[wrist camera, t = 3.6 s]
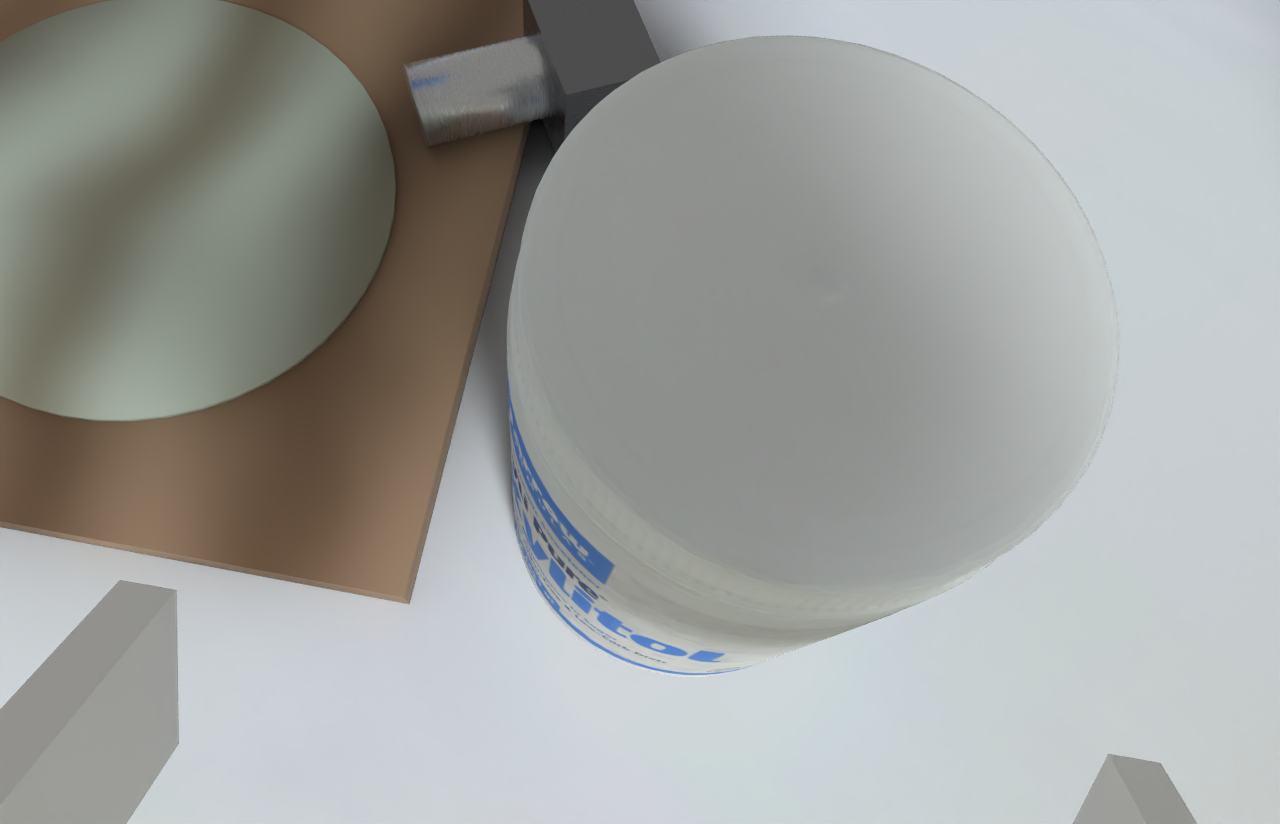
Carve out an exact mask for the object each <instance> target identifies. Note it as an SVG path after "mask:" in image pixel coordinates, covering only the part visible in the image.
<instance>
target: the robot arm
mask: <svg viewBox="0 0 1280 824" xmlns="http://www.w3.org/2000/svg"><path fill="white" fill-rule="evenodd" d="M178 744H179V727H178V657H177V590H173V589H167V588H162V587H156V586H150V585H145V584H139V583H133V582H128V581H122V580H120V581H119V582H118V583H117V584H116V585H115V586H114V587H113V588H112V589H111V590H110V591H109V593H108V594H107V595H106V596H105V597H104V598H103V599H102V600H101V601H100V602H99V603H98V604H97V605H96V607H95V608H94V609H93V610H92V611H91V612H90V613H89V614H88V615H87V616H86V617H85V618H84V620H83V621H82V622H81V623H80V624H79V625H78V626H77V627H76V628H75V629H74V630H73V631H72V632H71V634H70V635H69V636H68V637H67V638H66V639H65V640H64V641H63V642H62V643H61V644H60V645H59V647H58V648H57V649H56V650H55V651H54V652H53V653H52V654H51V655H50V656H49V657H48V658H47V659H46V661H45V662H44V663H43V664H42V665H41V666H40V667H39V668H38V669H37V670H36V671H35V672H34V674H33V675H32V676H31V677H30V678H29V679H28V680H27V681H26V682H25V683H24V684H23V685H22V686H21V688H20V689H19V690H18V691H17V692H16V693H15V694H14V695H13V696H12V697H11V698H10V699H9V701H8V702H7V703H6V704H5V705H4V706H3V707H2V708H1V709H0V824H126V823H127V822H128V820H129V819H130V817H131V816H132V814H133V813H134V811H135V809H136V808H137V806H138V805H139V803H140V802H141V800H142V799H143V797H144V796H145V794H146V793H147V791H148V790H149V788H150V787H151V785H152V783H153V782H154V780H155V779H156V777H157V776H158V774H159V773H160V771H161V770H162V768H163V767H164V765H165V764H166V762H167V761H168V759H169V757H170V756H171V754H172V753H173V751H174V750H175V748H176V747H177V745H178ZM1073 824H1197V822H1196V821H1195V819H1194V818H1193V816H1192V814H1191V813H1190V811H1189V809H1188V808H1187V806H1186V804H1185V803H1184V801H1183V799H1182V798H1181V796H1180V794H1179V793H1178V791H1177V789H1176V788H1175V786H1174V784H1173V783H1172V781H1171V779H1170V778H1169V776H1168V774H1167V773H1166V771H1165V769H1164V768H1163V766H1162V765H1161V763H1158V762H1152V761H1146V760H1140V759H1135V758H1129V757H1123V756H1118V755H1112V754H1108V756H1107V758H1106V760H1105V762H1104V764H1103V765H1102V767H1101V769H1100V771H1099V773H1098V775H1097V777H1096V779H1095V781H1094V783H1093V785H1092V787H1091V789H1090V791H1089V793H1088V795H1087V797H1086V799H1085V801H1084V803H1083V805H1082V807H1081V809H1080V811H1079V813H1078V815H1077V817H1076V819H1075V821H1074V823H1073Z"/></svg>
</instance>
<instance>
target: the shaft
mask: <svg viewBox="0 0 1280 824" xmlns="http://www.w3.org/2000/svg"><path fill="white" fill-rule="evenodd" d="M523 27H524V37H520V38H516V39H511V40H507V41H503V42H498V43H494V44H490V45H485V46H481V47H476V48H472V49H468V50H463V51H459V52H455V53H450V54H446V55H441V56H437V57H433V58H428V59H424V60H420V61H415V62H411V63H406V64H403V70H404V75H405V80H406V84H407V88H408V92H409V96H410V99H411V103H412V106H413V110H414V113H415V117H416V120H417V123H418V126H419V129H420V132H421V135H422V137H423V140H424V142H425V145H426V146H427V147H428V146H432V145H436V144H440V143H444V142H448V141H452V140H456V139H460V138H464V137H469V136H473V135H477V134H481V133H485V132H489V131H493V130H497V129H501V128H505V127H509V126H513V125H517V124H521V123H525V122H529V121H533V120H537V119H541V118H542V121H543V123H544V126H545V128H546V131H547V134H548V136H549V139H550V141H551V144H552V147H553V149H554V152H555V154H556V152H557V151H558V149H559V148H560V146H561V145H562V143H563V142H564V141H565V139H566V138H567V137H568V135H569V134H570V133H571V131H572V130H573V129H574V128H575V127H576V125H577V124H578V123H579V122H580V121H581V120H582V119H583V118H584V117H585V116H586V115H587V114H588V113H589V112H590V111H591V110H592V109H593V108H594V107H595V106H596V105H597V104H598V103H599V102H600V101H601V100H603V99H604V98H605V97H606V96H608V95H609V94H610V93H611V92H613V91H614V90H615V89H617V88H618V87H620V86H621V85H623V84H624V83H626V82H627V81H629V80H630V79H632V78H633V77H635V76H636V75H638V74H639V73H641V72H643V71H645V70H647V69H649V68H651V67H653V66H655V65H657V64H659V63H660V61H659V58H658V56H657V54H656V51H655V49H654V47H653V45H652V42H651V40H650V38H649V35H648V33H647V31H646V29H645V26H644V24H643V22H642V19H641V17H640V15H639V13H638V10H637V8H636V6H635V4H634V1H633V0H523Z"/></svg>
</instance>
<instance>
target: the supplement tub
mask: <svg viewBox="0 0 1280 824" xmlns="http://www.w3.org/2000/svg"><path fill="white" fill-rule="evenodd" d="M1118 360H1119V331H1118V319H1117V311H1116V305H1115V300H1114V295H1113V289H1112V285H1111V281H1110V277H1109V273H1108V270H1107V267H1106V263H1105V260H1104V257H1103V254H1102V252H1101V249H1100V247H1099V244H1098V242H1097V239H1096V237H1095V234H1094V232H1093V229H1092V227H1091V225H1090V223H1089V221H1088V219H1087V217H1086V216H1085V214H1084V212H1083V210H1082V208H1081V206H1080V205H1079V203H1078V201H1077V199H1076V197H1075V196H1074V194H1073V193H1072V191H1071V190H1070V188H1069V187H1068V185H1067V184H1066V182H1065V181H1064V179H1063V178H1062V177H1061V175H1060V174H1059V173H1058V172H1057V170H1056V169H1055V168H1054V167H1053V165H1052V164H1051V163H1050V162H1049V160H1048V159H1047V158H1046V157H1045V156H1044V155H1043V153H1042V152H1041V151H1040V150H1039V149H1038V148H1037V147H1036V145H1035V144H1034V143H1033V142H1032V141H1031V140H1030V139H1029V138H1027V137H1026V136H1025V135H1024V134H1023V133H1022V132H1021V131H1020V130H1019V129H1018V128H1017V127H1016V126H1015V125H1014V124H1012V123H1011V122H1010V121H1009V120H1008V119H1007V118H1006V117H1005V116H1003V115H1002V114H1001V113H999V112H998V111H997V110H995V109H994V108H993V107H991V106H990V105H989V104H988V103H986V102H985V101H983V100H982V99H980V98H979V97H977V96H976V95H975V94H973V93H972V92H970V91H969V90H967V89H966V88H964V87H962V86H961V85H959V84H957V83H955V82H954V81H952V80H950V79H948V78H947V77H945V76H943V75H941V74H939V73H937V72H935V71H933V70H931V69H929V68H927V67H924V66H922V65H920V64H917V63H915V62H912V61H910V60H907V59H905V58H903V57H900V56H898V55H895V54H892V53H889V52H885V51H882V50H878V49H875V48H871V47H868V46H864V45H861V44H856V43H850V42H844V41H839V40H833V39H826V38H818V37H806V36H762V37H750V38H744V39H737V40H731V41H724V42H719V43H716V44H712V45H708V46H704V47H701V48H697V49H694V50H690V51H687V52H684V53H682V54H679V55H677V56H675V57H672V58H670V59H667V60H665V61H663V62H661V63H659V64H657V65H655V66H653V67H651V68H649V69H647V70H645V71H643V72H641V73H639V74H638V75H636V76H635V77H633V78H632V79H630V80H629V81H627V82H626V83H624V84H623V85H621V86H620V87H618V88H617V89H615V90H614V91H613V92H611V93H610V94H609V95H608V96H606V97H605V98H604V99H603V100H601V101H600V102H599V103H598V104H597V105H596V106H595V107H594V108H593V109H592V110H591V111H590V112H589V113H588V114H587V115H586V116H585V117H584V118H583V119H582V120H581V121H580V122H579V123H578V124H577V125H576V127H575V128H574V129H573V130H572V131H571V133H570V134H569V135H568V137H567V138H566V139H565V141H564V142H563V143H562V145H561V146H560V148H559V149H558V151H557V152H556V154H555V155H554V157H553V159H552V160H551V162H550V164H549V166H548V168H547V169H546V171H545V173H544V175H543V177H542V179H541V181H540V183H539V185H538V187H537V189H536V192H535V195H534V198H533V201H532V204H531V207H530V210H529V213H528V216H527V220H526V224H525V228H524V232H523V236H522V241H521V248H520V253H519V256H518V260H517V264H516V269H515V273H514V279H513V284H512V289H511V294H510V299H509V308H508V320H507V385H508V408H509V427H510V446H511V469H512V489H513V509H514V524H515V529H516V535H517V540H518V544H519V547H520V551H521V554H522V557H523V560H524V563H525V565H526V568H527V570H528V573H529V575H530V577H531V579H532V582H533V583H534V585H535V587H536V589H537V591H538V592H539V594H540V595H541V597H542V598H543V600H544V601H545V602H546V604H547V605H548V606H549V608H550V609H551V611H552V612H553V613H554V614H555V615H556V617H557V618H558V619H559V620H560V621H561V622H562V623H563V624H564V625H565V626H566V627H567V628H568V629H569V630H570V631H571V632H572V633H573V634H574V635H576V636H577V637H578V638H580V639H581V640H582V641H583V642H585V643H586V644H587V645H589V646H590V647H592V648H593V649H595V650H597V651H599V652H601V653H602V654H604V655H606V656H608V657H610V658H612V659H614V660H616V661H618V662H621V663H623V664H626V665H629V666H632V667H635V668H638V669H642V670H645V671H649V672H654V673H658V674H664V675H670V676H680V677H704V676H714V675H720V674H725V673H729V672H732V671H736V670H739V669H743V668H746V667H749V666H753V665H755V664H758V663H761V662H764V661H766V660H769V659H772V658H774V657H777V656H779V655H782V654H785V653H788V652H790V651H793V650H796V649H799V648H802V647H804V646H807V645H810V644H813V643H815V642H818V641H821V640H824V639H827V638H829V637H832V636H835V635H837V634H840V633H843V632H846V631H848V630H851V629H854V628H856V627H859V626H862V625H864V624H867V623H870V622H873V621H875V620H878V619H881V618H883V617H886V616H889V615H891V614H894V613H896V612H898V611H900V610H903V609H905V608H908V607H910V606H913V605H915V604H918V603H920V602H923V601H925V600H927V599H929V598H932V597H934V596H937V595H939V594H941V593H943V592H945V591H947V590H949V589H951V588H953V587H955V586H957V585H959V584H961V583H963V582H964V581H966V580H968V579H970V578H971V577H973V576H974V575H975V574H977V573H978V572H980V571H981V570H983V569H984V568H985V567H987V566H988V565H989V564H990V563H992V562H993V561H994V560H995V559H997V558H998V557H1000V556H1001V555H1003V554H1004V553H1006V552H1007V551H1009V550H1011V549H1012V548H1014V547H1015V546H1016V545H1018V544H1019V543H1020V542H1022V541H1023V540H1024V539H1026V538H1027V537H1028V536H1030V535H1031V534H1032V533H1033V532H1034V531H1036V530H1037V529H1038V528H1039V527H1040V526H1041V525H1042V524H1043V523H1044V522H1045V521H1046V520H1047V519H1048V518H1049V517H1050V516H1051V515H1052V514H1053V513H1054V512H1055V511H1056V510H1057V509H1058V508H1059V507H1060V505H1061V504H1062V503H1063V502H1064V500H1065V499H1066V498H1067V496H1068V495H1069V494H1070V492H1071V491H1072V490H1073V488H1074V487H1075V486H1076V484H1077V483H1078V481H1079V480H1080V478H1081V477H1082V475H1083V474H1084V472H1085V470H1086V469H1087V467H1088V466H1089V464H1090V462H1091V460H1092V458H1093V456H1094V454H1095V452H1096V449H1097V447H1098V445H1099V443H1100V440H1101V438H1102V435H1103V432H1104V429H1105V426H1106V423H1107V420H1108V417H1109V414H1110V411H1111V407H1112V403H1113V398H1114V393H1115V388H1116V383H1117V371H1118Z"/></svg>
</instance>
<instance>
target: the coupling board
mask: <svg viewBox="0 0 1280 824" xmlns="http://www.w3.org/2000/svg"><path fill="white" fill-rule="evenodd" d="M520 37H524V27H523V0H0V527H3V528H9V529H14V530H19V531H25V532H30V533H35V534H41V535H46V536H51V537H56V538H62V539H67V540H72V541H78V542H83V543H88V544H94V545H99V546H104V547H110V548H115V549H120V550H125V551H131V552H136V553H141V554H147V555H152V556H157V557H163V558H168V559H173V560H178V561H184V562H189V563H194V564H200V565H205V566H210V567H216V568H221V569H226V570H232V571H237V572H242V573H247V574H253V575H258V576H263V577H269V578H274V579H279V580H285V581H290V582H295V583H301V584H306V585H311V586H316V587H322V588H327V589H332V590H338V591H343V592H348V593H354V594H359V595H364V596H369V597H375V598H380V599H385V600H391V601H396V602H401V603H407V604H410V600H411V596H412V592H413V588H414V584H415V580H416V576H417V572H418V568H419V564H420V560H421V556H422V552H423V548H424V544H425V540H426V536H427V532H428V529H429V525H430V521H431V517H432V513H433V509H434V505H435V501H436V497H437V493H438V489H439V485H440V481H441V477H442V473H443V469H444V465H445V461H446V457H447V454H448V450H449V446H450V442H451V438H452V434H453V430H454V426H455V422H456V418H457V414H458V410H459V406H460V402H461V398H462V394H463V390H464V386H465V382H466V378H467V375H468V371H469V367H470V363H471V359H472V355H473V351H474V347H475V343H476V339H477V335H478V331H479V327H480V323H481V319H482V315H483V311H484V307H485V303H486V300H487V296H488V292H489V288H490V284H491V280H492V276H493V272H494V268H495V264H496V260H497V256H498V252H499V248H500V244H501V240H502V236H503V232H504V228H505V224H506V221H507V217H508V213H509V209H510V205H511V201H512V197H513V193H514V189H515V185H516V181H517V177H518V173H519V169H520V165H521V161H522V157H523V153H524V149H525V146H526V142H527V138H528V134H529V130H530V126H531V122H532V121H529V122H525V123H521V124H517V125H513V126H509V127H505V128H501V129H497V130H493V131H489V132H485V133H481V134H477V135H473V136H469V137H464V138H460V139H456V140H452V141H448V142H444V143H440V144H436V145H432V146H428V147H427V146H426V145H425V142H424V140H423V137H422V135H421V132H420V129H419V126H418V123H417V120H416V117H415V113H414V110H413V106H412V103H411V99H410V96H409V92H408V88H407V84H406V80H405V75H404V70H403V64H406V63H411V62H415V61H420V60H424V59H428V58H433V57H437V56H441V55H446V54H450V53H455V52H459V51H463V50H468V49H472V48H476V47H481V46H485V45H490V44H494V43H498V42H503V41H507V40H511V39H516V38H520Z"/></svg>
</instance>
